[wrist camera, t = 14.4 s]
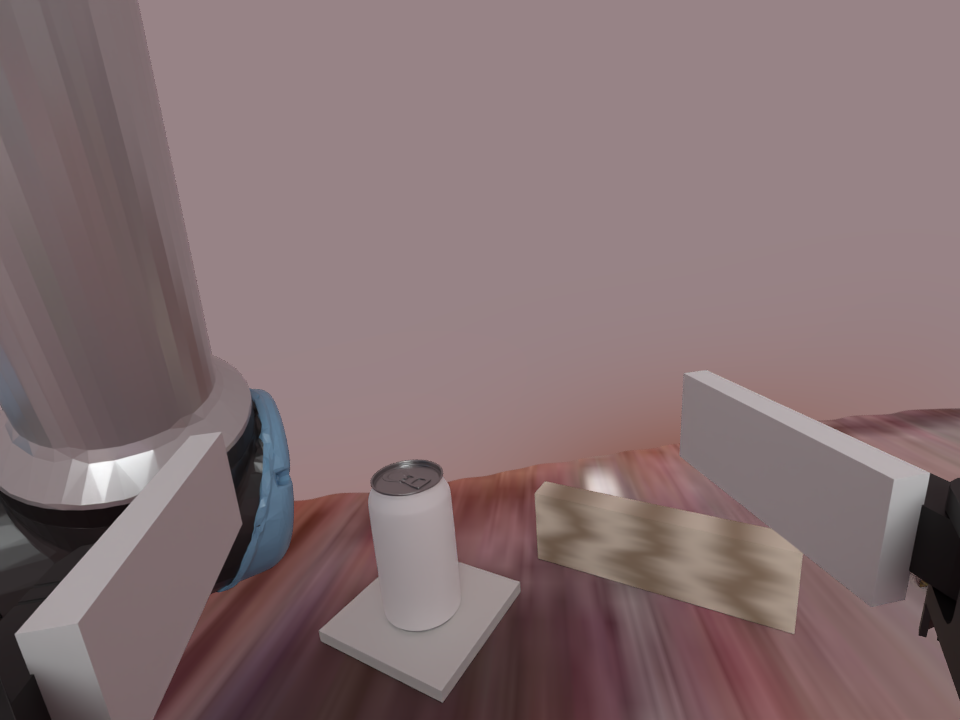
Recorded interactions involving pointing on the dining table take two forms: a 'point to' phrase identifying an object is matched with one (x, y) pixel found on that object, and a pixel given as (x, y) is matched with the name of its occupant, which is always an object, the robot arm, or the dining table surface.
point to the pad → (423, 633)
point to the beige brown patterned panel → (672, 553)
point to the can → (415, 544)
